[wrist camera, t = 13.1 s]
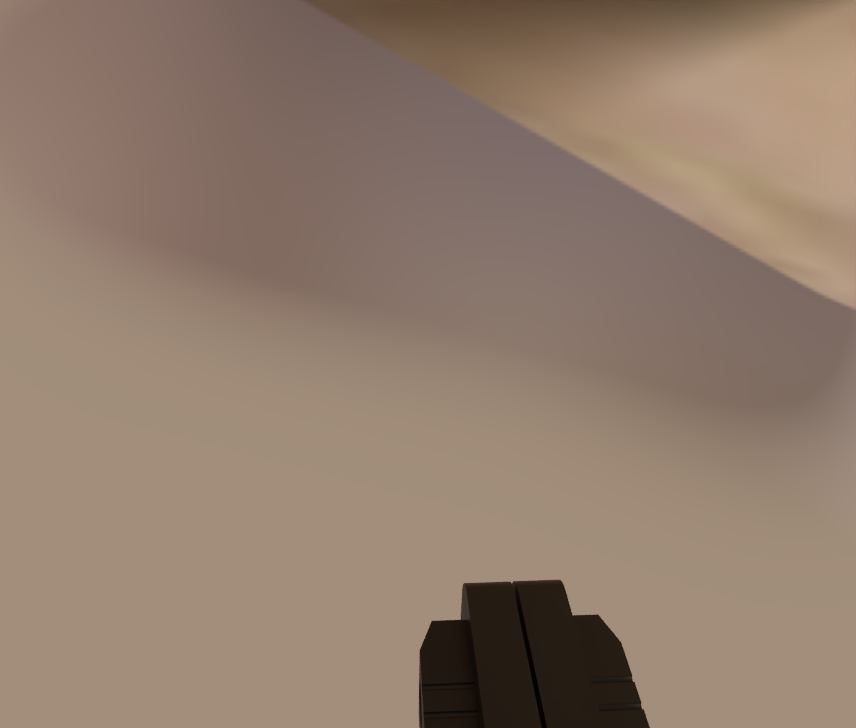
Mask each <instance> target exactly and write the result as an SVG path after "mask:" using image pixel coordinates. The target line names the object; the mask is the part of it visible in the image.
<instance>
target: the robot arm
mask: <svg viewBox="0 0 856 728" xmlns="http://www.w3.org/2000/svg"><path fill="white" fill-rule="evenodd" d="M419 668H420V669H419V671H420V673H419V727H420V728H650V727H649V724H648V721H647V718H646V715H645V713H644V710H643V709H642V707H641V700H640V698H639V695H638V692H637V689H636V685H635V682H633V681H632V674H631V671H630V668H629V665H628V662H627V659H626V656H625V653H624V650H623V647H622V644H621V642H620V641H619V639H618V638H617V637H616V636H615V635H614V633H613V632H612V631H611V630H610V629H609V628H608V626H607V625H606V624H605V623H604V621H603V620H602V619H601V618H600V616H599V615H576V616H575V615H574V616H572V612H571V609H570V605H569V601H568V598H567V594H566V591H565V588H564V585H563V583H562V581H561V580H540V581H514V582H513V583H512V584H511V582H490V583H464V584H463V589H462V607H461V620H446V621H432V622H431V624H430V627H429V629H428V632H427V634H426V637H425V639H424V642H423V644H422V647H421V649H420V667H419Z"/></svg>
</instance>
